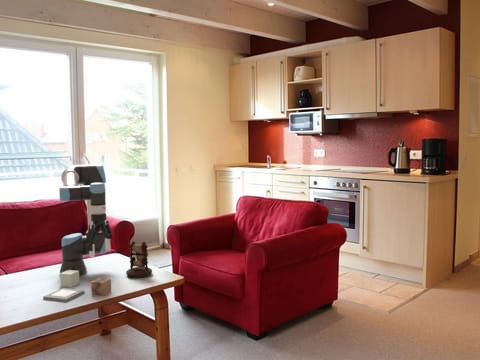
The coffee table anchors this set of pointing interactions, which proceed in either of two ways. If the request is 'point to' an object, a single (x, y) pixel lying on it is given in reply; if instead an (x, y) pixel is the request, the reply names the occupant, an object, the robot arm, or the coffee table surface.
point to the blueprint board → (63, 294)
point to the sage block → (69, 278)
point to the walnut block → (101, 286)
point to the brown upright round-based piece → (138, 260)
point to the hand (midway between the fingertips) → (100, 254)
